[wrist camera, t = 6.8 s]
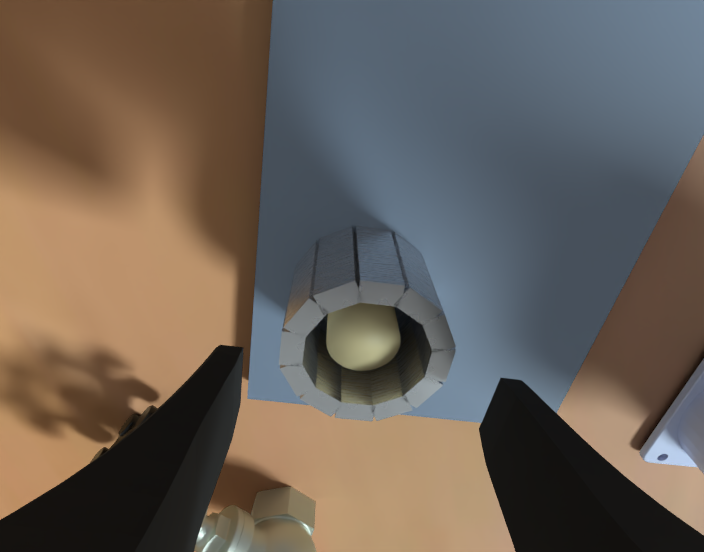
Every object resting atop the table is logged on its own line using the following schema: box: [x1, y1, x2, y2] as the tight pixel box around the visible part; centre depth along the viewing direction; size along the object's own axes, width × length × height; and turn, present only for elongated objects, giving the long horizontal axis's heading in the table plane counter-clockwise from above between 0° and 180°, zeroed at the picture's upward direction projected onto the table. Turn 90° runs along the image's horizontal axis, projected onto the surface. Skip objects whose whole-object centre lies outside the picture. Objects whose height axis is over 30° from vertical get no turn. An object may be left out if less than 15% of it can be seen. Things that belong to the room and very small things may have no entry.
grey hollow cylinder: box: [279, 225, 456, 421], centre depth 15 cm, size 5×5×4 cm
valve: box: [90, 405, 316, 552], centre depth 20 cm, size 7×7×12 cm
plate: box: [247, 0, 704, 423], centre depth 13 cm, size 14×24×4 cm, turn 171°
